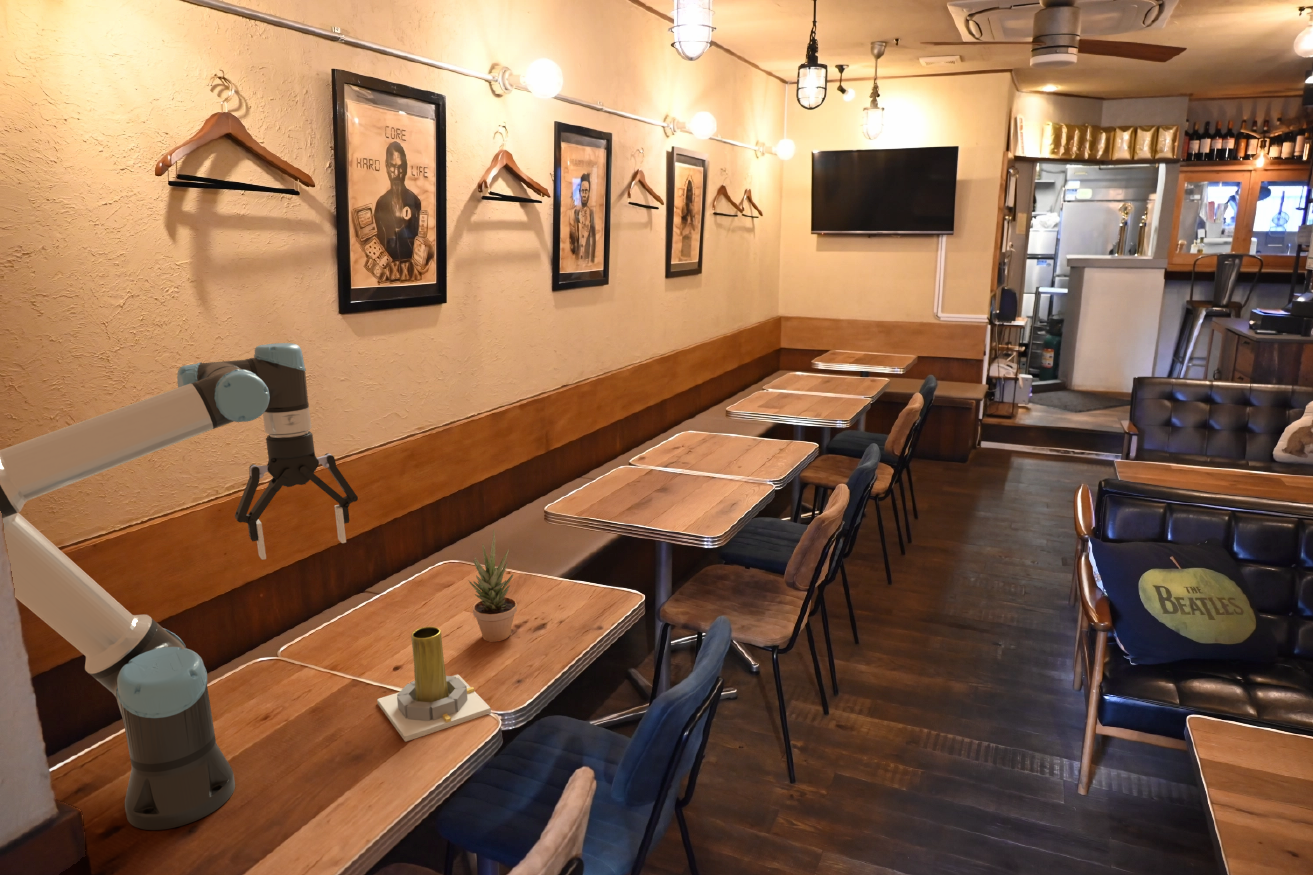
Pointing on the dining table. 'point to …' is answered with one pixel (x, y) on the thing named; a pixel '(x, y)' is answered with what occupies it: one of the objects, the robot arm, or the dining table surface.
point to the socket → (432, 709)
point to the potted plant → (493, 599)
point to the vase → (429, 665)
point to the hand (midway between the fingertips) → (303, 549)
